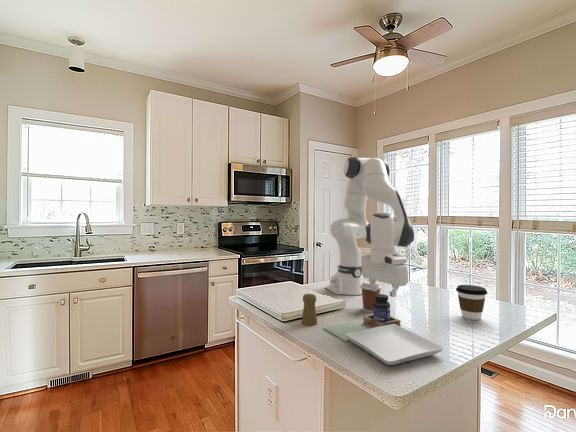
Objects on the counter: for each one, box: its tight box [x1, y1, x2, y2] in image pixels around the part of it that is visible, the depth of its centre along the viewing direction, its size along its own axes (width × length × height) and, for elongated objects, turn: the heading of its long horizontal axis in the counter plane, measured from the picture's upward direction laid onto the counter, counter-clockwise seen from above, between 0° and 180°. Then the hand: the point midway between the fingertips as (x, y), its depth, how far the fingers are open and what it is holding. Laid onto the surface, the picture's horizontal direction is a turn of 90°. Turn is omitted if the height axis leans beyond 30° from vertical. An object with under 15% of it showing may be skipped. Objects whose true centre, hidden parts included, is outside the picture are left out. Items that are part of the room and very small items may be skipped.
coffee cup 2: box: [455, 284, 488, 321], centre depth 124 cm, size 11×11×12 cm
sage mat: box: [323, 321, 368, 343], centre depth 110 cm, size 13×13×1 cm
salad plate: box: [345, 324, 444, 366], centre depth 96 cm, size 21×21×3 cm
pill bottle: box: [372, 293, 391, 323], centre depth 116 cm, size 6×6×11 cm
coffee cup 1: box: [360, 279, 382, 313], centre depth 135 cm, size 9×9×12 cm
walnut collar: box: [362, 314, 401, 328], centre depth 116 cm, size 9×9×2 cm
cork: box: [301, 293, 318, 327], centre depth 118 cm, size 6×6×11 cm
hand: (383, 293), depth 116 cm, fingers open, 8 cm apart
